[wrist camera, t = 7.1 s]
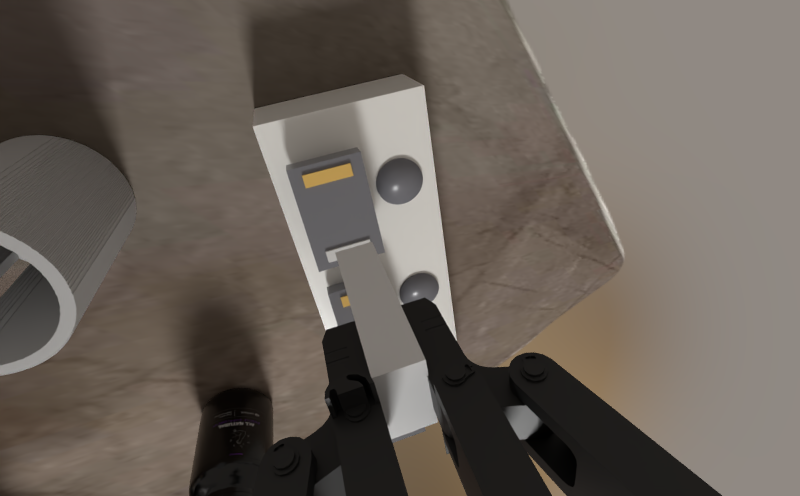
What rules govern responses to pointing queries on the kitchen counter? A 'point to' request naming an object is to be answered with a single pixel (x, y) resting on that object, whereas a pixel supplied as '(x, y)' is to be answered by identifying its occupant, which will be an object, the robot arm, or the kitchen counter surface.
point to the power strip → (386, 173)
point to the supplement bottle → (231, 443)
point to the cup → (55, 240)
